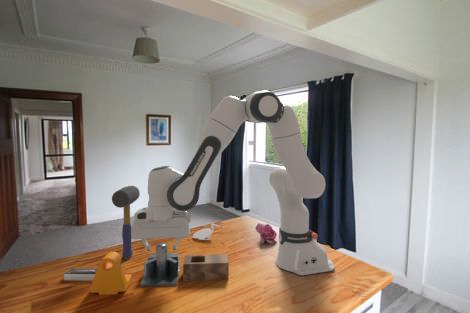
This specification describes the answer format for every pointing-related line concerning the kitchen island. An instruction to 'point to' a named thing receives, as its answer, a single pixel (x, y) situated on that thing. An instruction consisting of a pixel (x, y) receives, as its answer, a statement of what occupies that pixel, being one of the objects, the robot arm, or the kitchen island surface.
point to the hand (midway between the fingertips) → (161, 249)
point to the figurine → (204, 233)
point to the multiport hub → (80, 274)
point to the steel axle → (161, 259)
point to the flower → (266, 233)
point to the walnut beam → (205, 267)
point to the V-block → (153, 280)
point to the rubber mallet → (126, 214)
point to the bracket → (110, 276)
